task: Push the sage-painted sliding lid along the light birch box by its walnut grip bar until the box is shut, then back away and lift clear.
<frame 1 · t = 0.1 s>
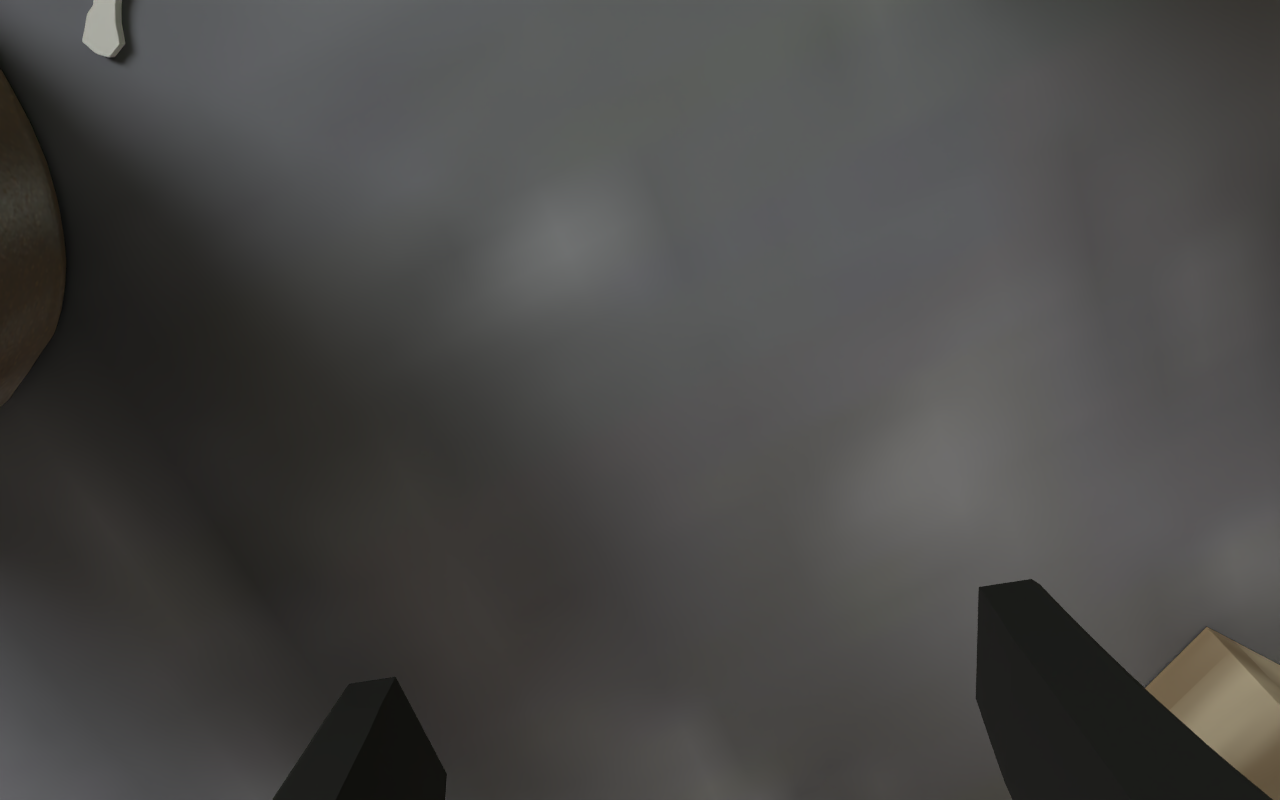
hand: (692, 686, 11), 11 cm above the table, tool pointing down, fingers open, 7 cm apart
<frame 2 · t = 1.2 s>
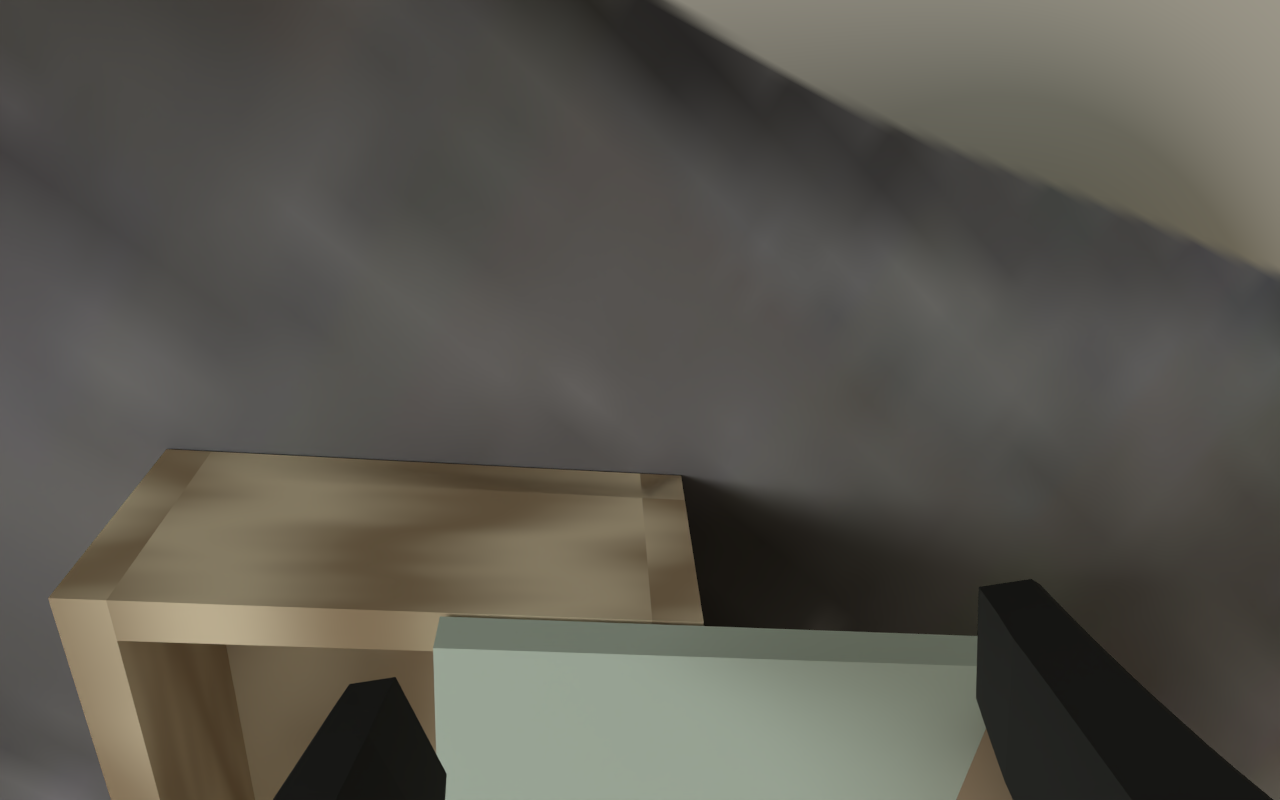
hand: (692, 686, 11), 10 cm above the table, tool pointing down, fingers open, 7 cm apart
storage box: (436, 674, 24), on the table
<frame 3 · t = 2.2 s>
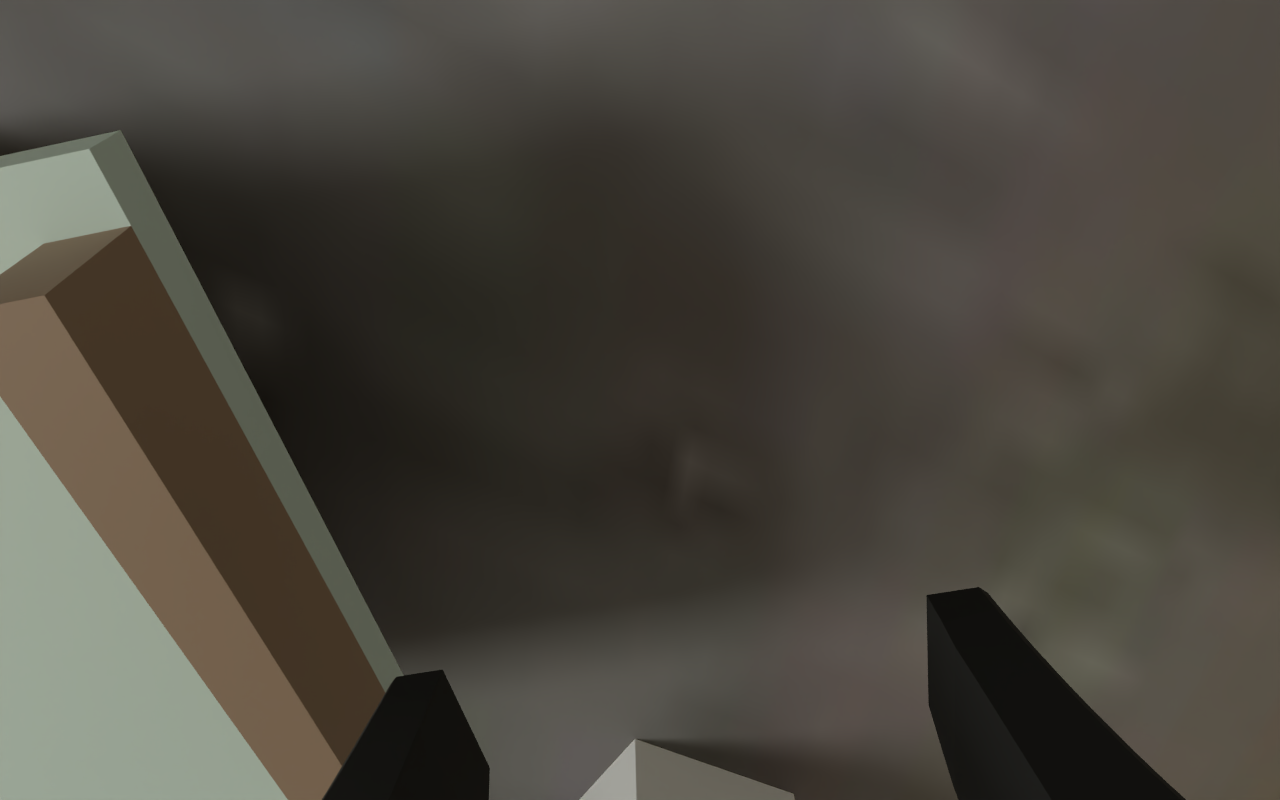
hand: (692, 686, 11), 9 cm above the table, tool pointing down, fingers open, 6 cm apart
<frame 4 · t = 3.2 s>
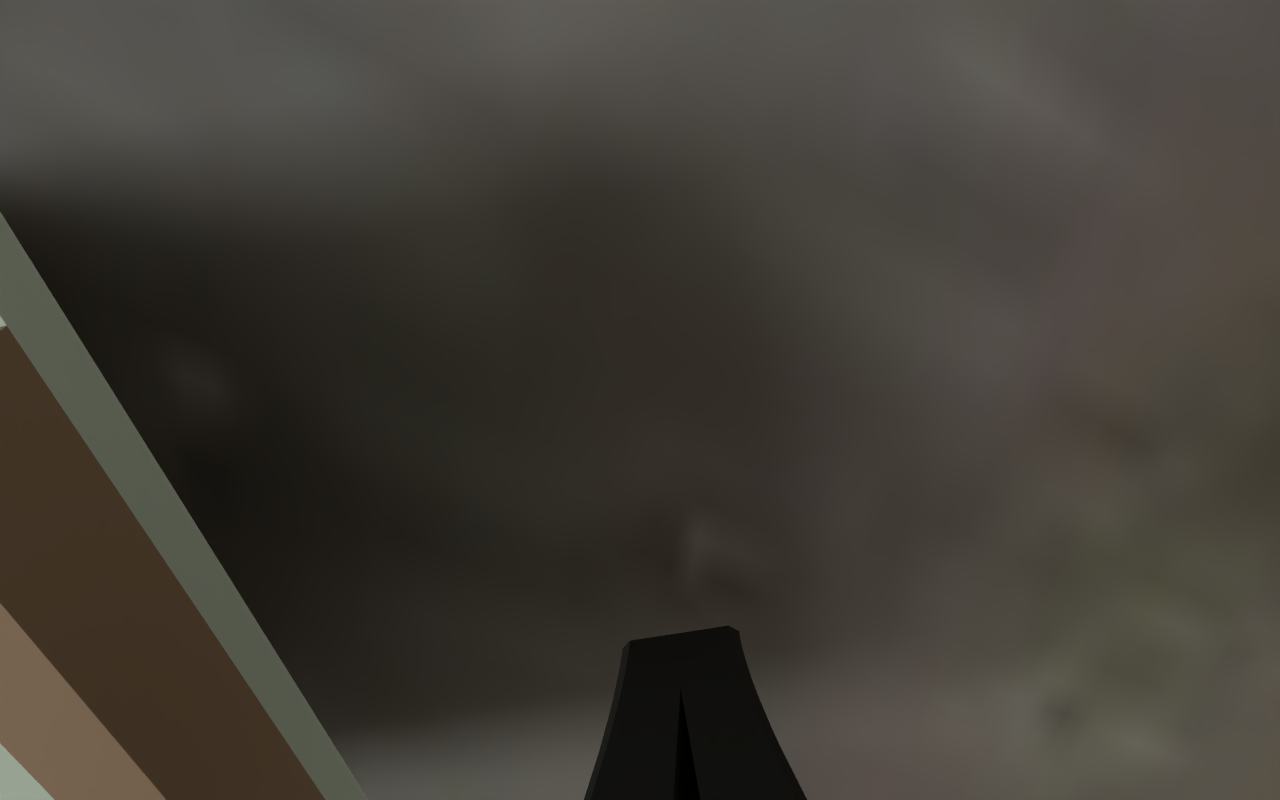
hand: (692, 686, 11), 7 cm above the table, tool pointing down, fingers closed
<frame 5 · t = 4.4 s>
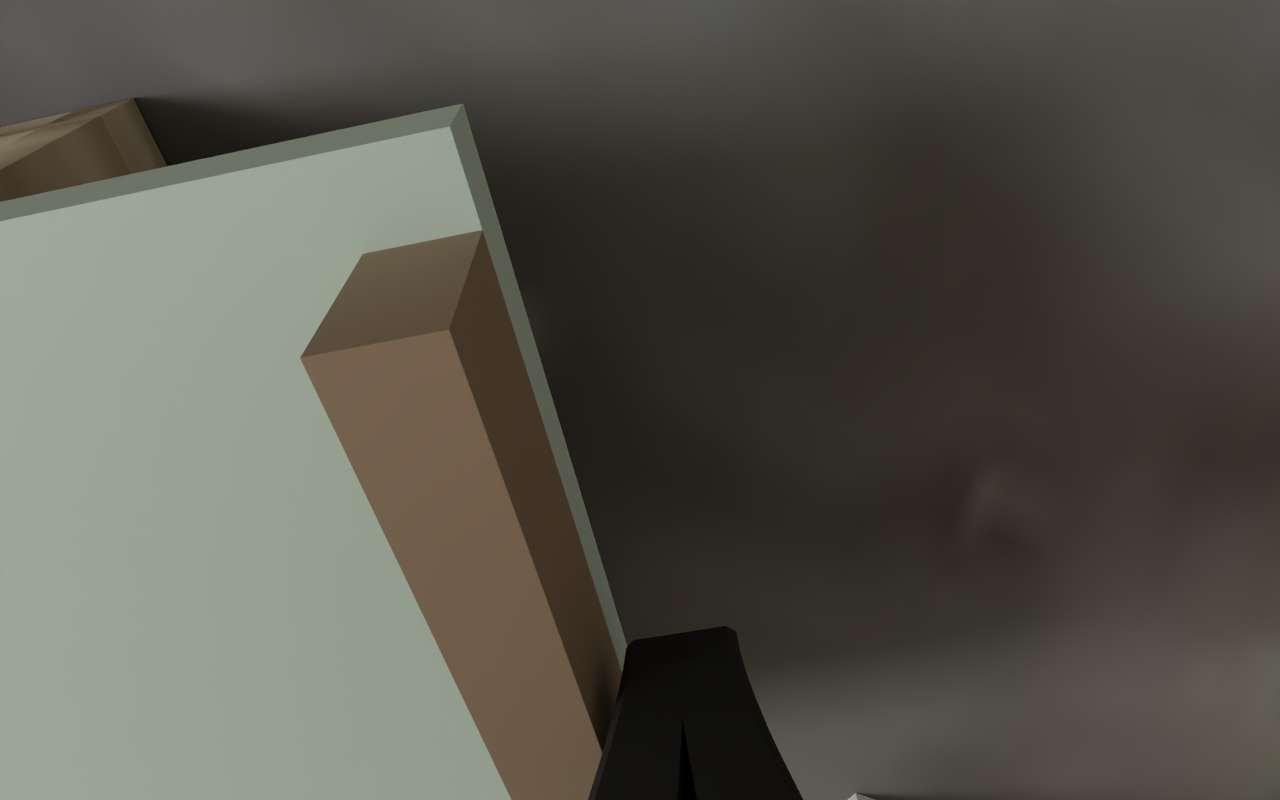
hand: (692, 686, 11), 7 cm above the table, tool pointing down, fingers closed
storage box: (32, 508, 17), on the table
lid: (172, 751, 12), point 6 cm above the table, slide at 6.0 cm, touching gripper
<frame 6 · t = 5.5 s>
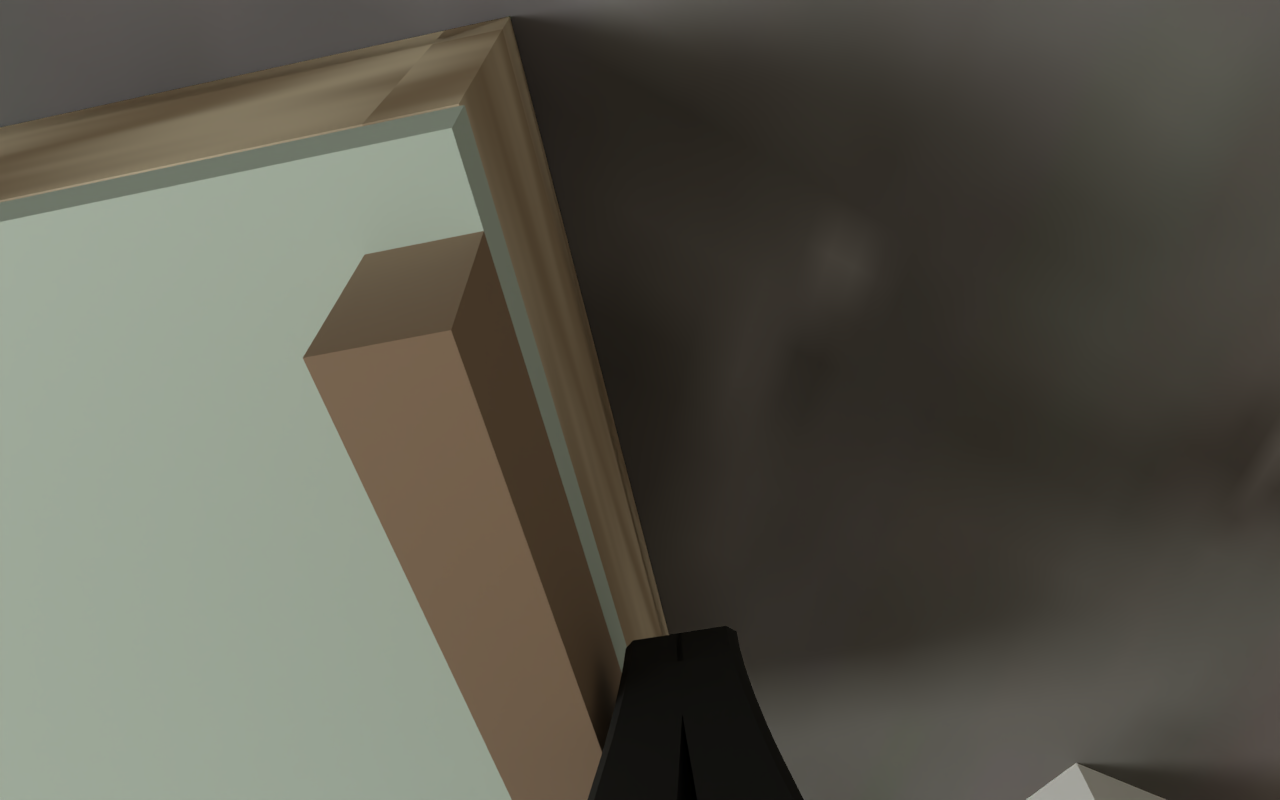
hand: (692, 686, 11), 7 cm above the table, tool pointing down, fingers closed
storage box: (310, 458, 17), on the table
lid: (173, 751, 12), point 7 cm above the table, slide at 0.1 cm, touching gripper
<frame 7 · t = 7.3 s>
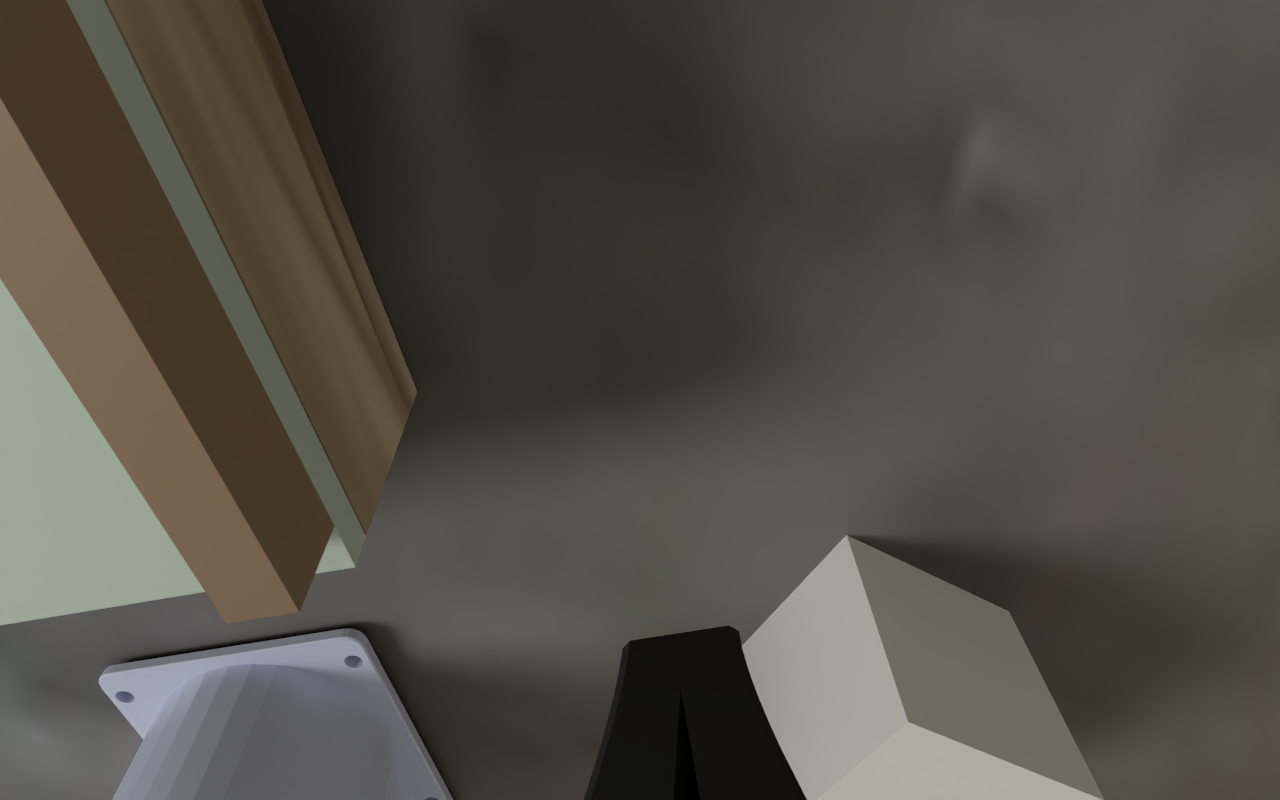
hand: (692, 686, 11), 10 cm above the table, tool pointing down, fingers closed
storage box: (13, 153, 17), on the table
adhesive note: (861, 631, 26), on the table
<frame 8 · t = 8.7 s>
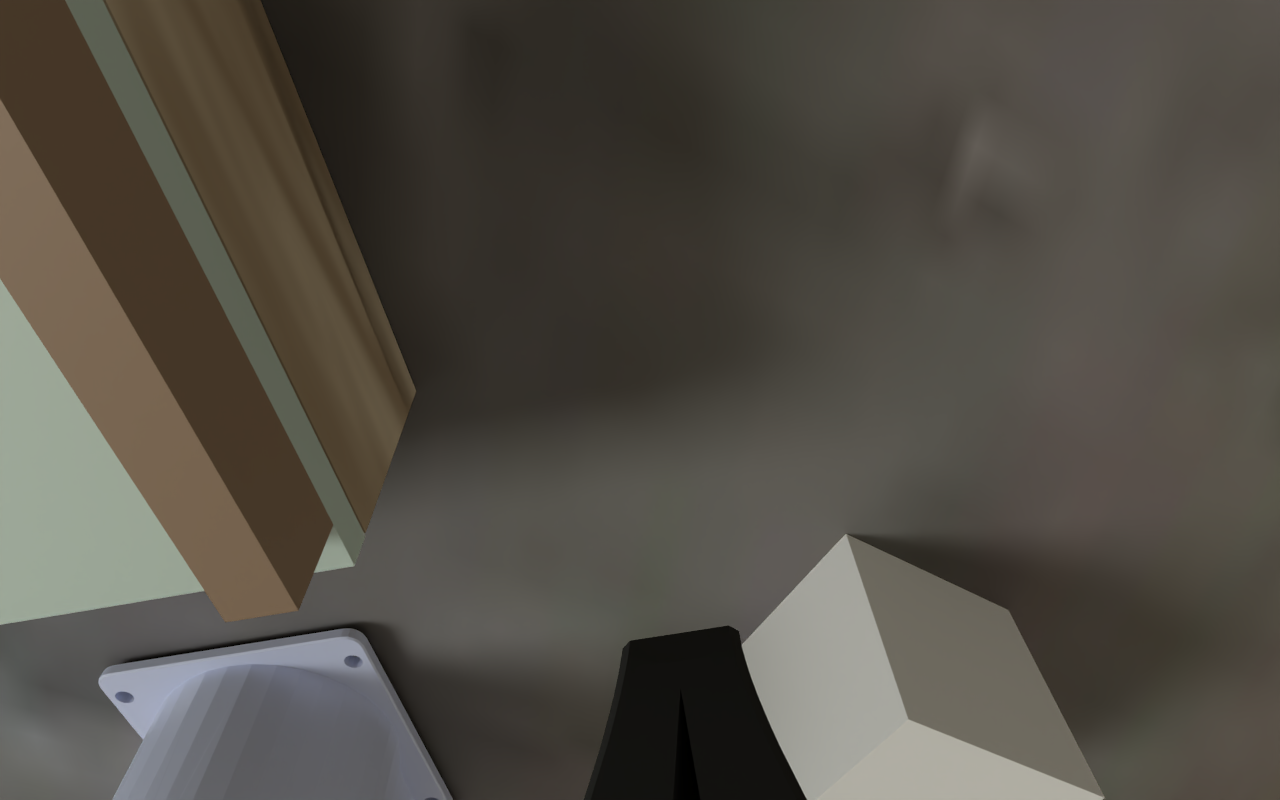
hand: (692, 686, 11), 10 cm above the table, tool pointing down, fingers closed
storage box: (12, 153, 17), on the table
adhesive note: (861, 630, 26), on the table
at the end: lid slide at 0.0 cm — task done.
